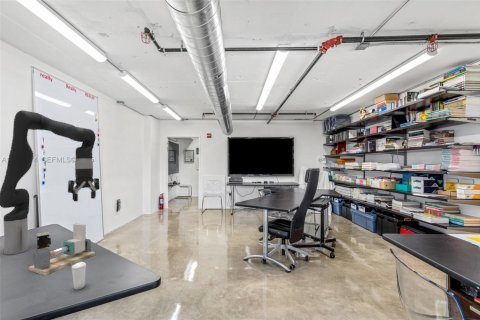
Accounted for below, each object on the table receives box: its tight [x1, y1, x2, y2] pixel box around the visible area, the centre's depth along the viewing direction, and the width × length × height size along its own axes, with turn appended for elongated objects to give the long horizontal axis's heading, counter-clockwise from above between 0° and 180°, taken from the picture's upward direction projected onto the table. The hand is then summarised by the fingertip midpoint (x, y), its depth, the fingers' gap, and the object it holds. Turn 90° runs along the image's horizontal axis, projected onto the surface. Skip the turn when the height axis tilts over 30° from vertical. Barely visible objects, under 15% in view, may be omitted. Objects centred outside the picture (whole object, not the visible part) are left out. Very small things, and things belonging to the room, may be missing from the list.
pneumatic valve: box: [35, 230, 52, 250], centre depth 121 cm, size 6×12×12 cm, turn 42°
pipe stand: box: [28, 238, 96, 276], centre depth 111 cm, size 22×12×8 cm, turn 157°
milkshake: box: [70, 261, 87, 290], centre depth 88 cm, size 4×5×10 cm
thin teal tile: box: [62, 240, 74, 256], centre depth 113 cm, size 1×6×6 cm, turn 66°
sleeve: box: [67, 223, 87, 254], centre depth 116 cm, size 5×7×13 cm
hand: (84, 199), depth 119 cm, fingers open, 8 cm apart
